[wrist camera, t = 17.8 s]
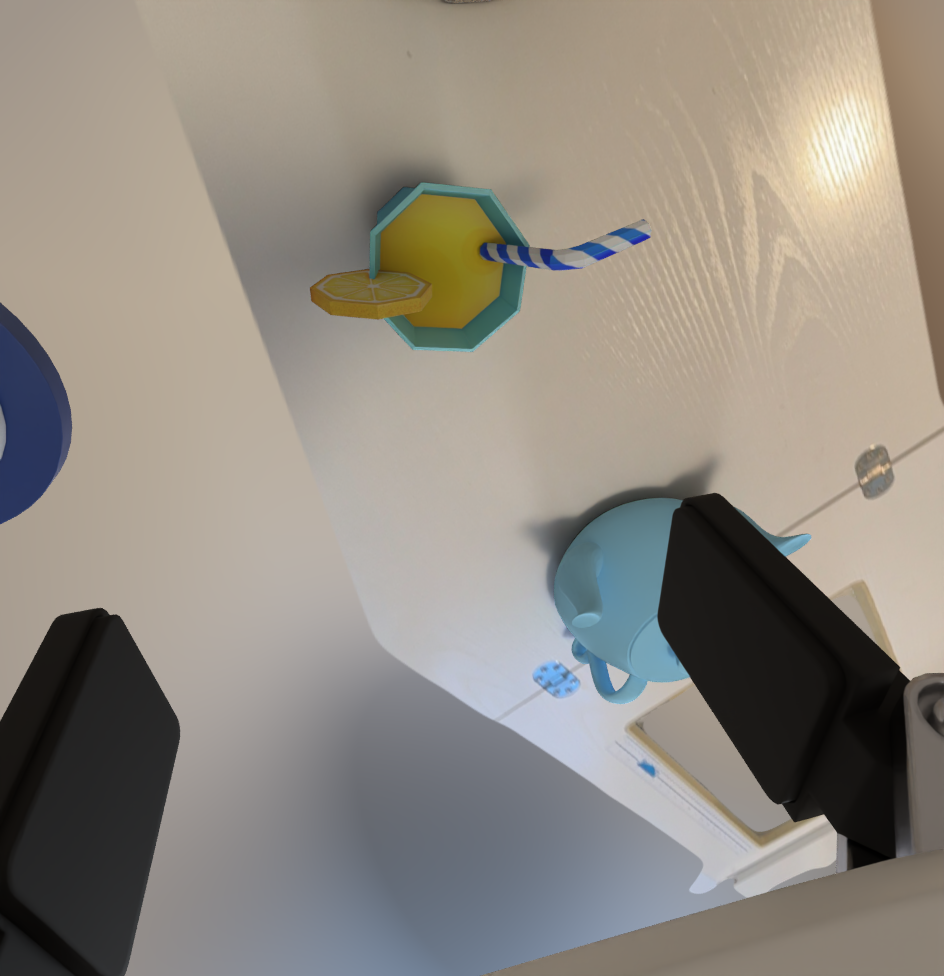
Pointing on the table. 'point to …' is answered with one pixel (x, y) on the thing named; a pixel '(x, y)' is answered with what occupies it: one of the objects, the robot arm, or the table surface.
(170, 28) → the table surface
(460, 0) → the round ribbed tray
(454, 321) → the cup
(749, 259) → the table surface
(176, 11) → the table surface
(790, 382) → the table surface
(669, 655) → the teapot
